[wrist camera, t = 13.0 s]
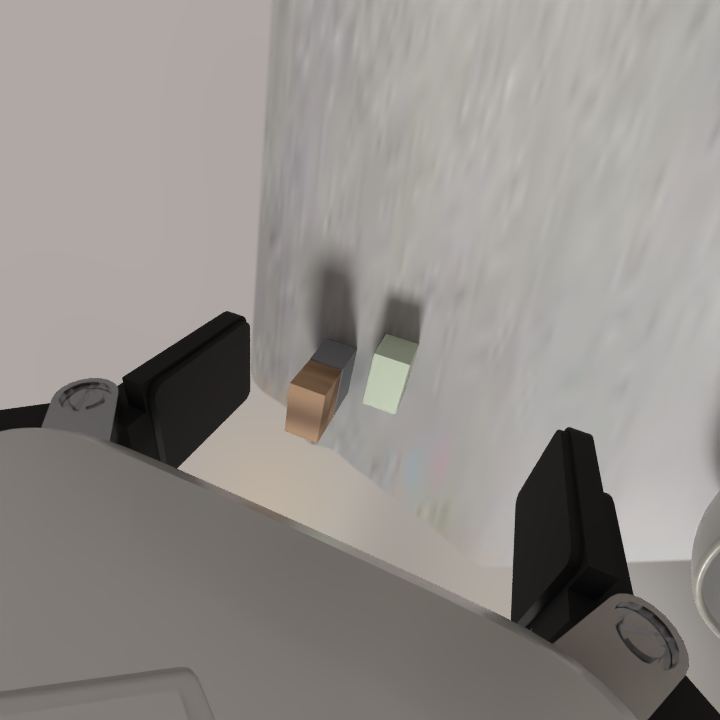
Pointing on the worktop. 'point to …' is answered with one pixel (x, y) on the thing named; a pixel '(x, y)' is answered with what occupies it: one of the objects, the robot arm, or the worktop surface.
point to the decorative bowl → (708, 566)
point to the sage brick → (390, 373)
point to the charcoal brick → (337, 364)
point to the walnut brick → (312, 400)
